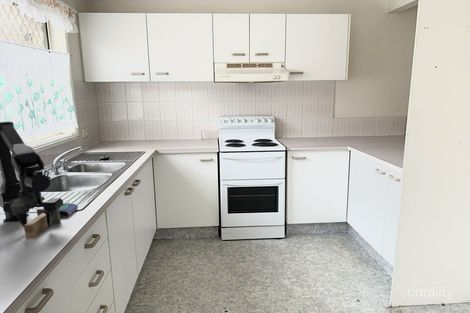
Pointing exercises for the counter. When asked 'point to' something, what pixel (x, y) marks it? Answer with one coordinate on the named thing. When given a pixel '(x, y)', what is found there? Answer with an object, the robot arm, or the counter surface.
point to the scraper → (39, 223)
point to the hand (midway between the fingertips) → (37, 226)
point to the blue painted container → (67, 209)
